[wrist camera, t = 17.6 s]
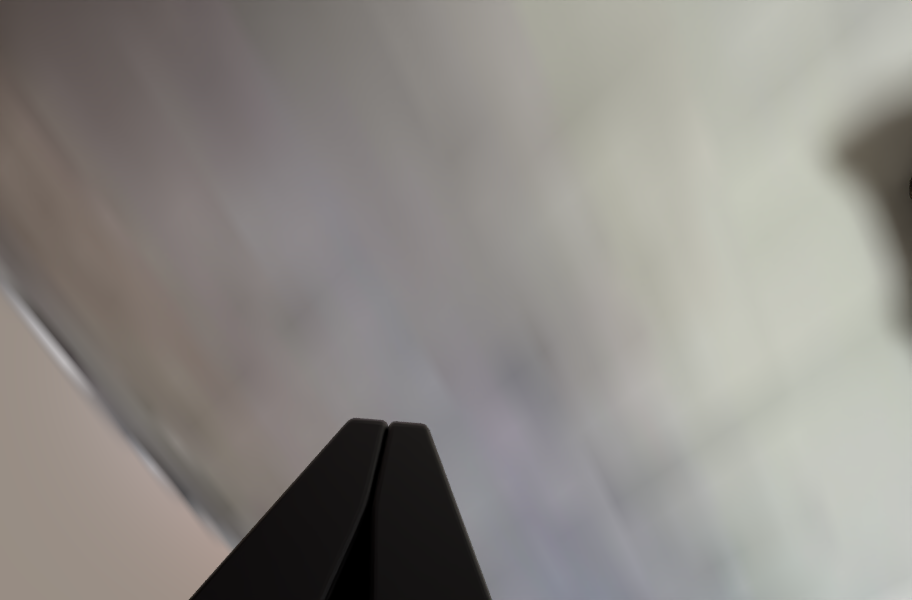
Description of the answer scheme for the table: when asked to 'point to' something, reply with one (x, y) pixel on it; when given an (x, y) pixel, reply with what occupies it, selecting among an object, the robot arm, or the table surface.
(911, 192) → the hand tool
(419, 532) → the robot arm
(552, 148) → the table surface
